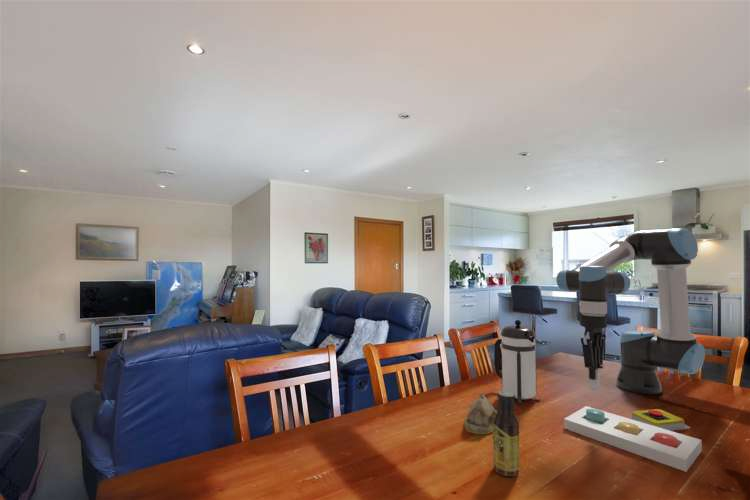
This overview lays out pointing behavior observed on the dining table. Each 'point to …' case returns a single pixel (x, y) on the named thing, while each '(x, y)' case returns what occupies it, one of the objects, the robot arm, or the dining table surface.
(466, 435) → the dining table surface
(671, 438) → the red button
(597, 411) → the teal button
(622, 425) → the ochre button
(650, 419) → the emergency button
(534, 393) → the coffee press
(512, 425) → the sauce bottle
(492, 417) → the ceramic model
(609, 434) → the button panel
